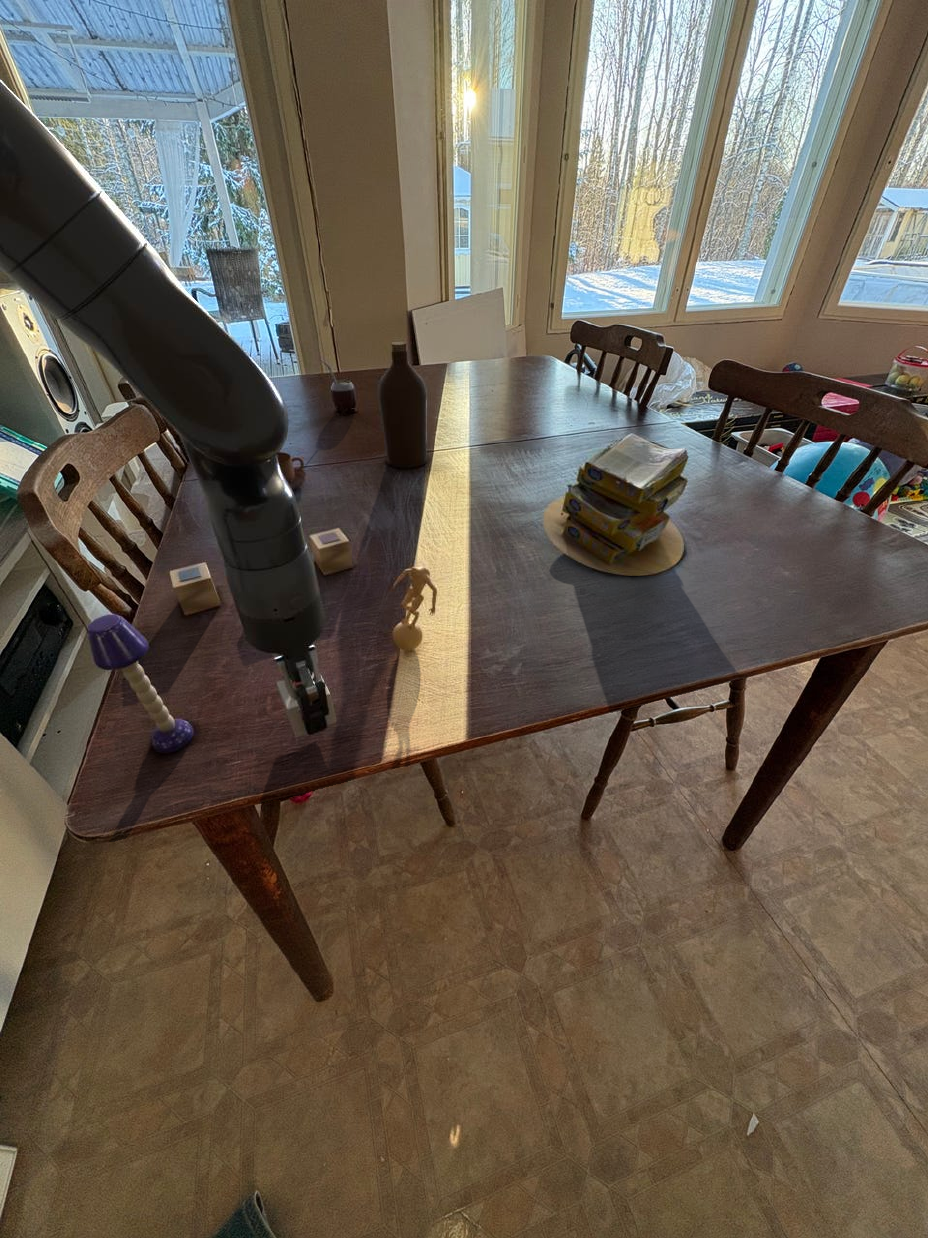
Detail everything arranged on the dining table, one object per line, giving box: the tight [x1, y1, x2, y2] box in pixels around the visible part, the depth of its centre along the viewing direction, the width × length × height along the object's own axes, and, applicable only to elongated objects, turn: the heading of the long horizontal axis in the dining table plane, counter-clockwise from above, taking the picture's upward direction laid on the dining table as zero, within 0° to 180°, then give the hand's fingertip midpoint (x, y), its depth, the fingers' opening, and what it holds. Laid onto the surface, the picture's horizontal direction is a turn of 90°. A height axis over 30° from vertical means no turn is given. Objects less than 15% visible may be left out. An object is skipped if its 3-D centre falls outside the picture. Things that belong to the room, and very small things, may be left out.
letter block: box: [276, 673, 337, 739], centre depth 57 cm, size 5×5×5 cm
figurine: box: [392, 565, 438, 651], centre depth 66 cm, size 8×6×12 cm
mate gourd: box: [318, 358, 357, 416], centre depth 146 cm, size 8×8×15 cm
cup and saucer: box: [277, 451, 308, 491], centre depth 108 cm, size 12×12×6 cm
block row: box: [169, 527, 354, 616], centre depth 80 cm, size 26×5×5 cm, turn 120°
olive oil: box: [377, 341, 428, 469], centre depth 113 cm, size 11×11×25 cm
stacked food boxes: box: [542, 432, 689, 577], centre depth 87 cm, size 25×25×17 cm
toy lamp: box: [86, 613, 195, 754], centre depth 52 cm, size 5×5×17 cm
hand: (310, 714), depth 58 cm, fingers closed on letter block, 4 cm apart
